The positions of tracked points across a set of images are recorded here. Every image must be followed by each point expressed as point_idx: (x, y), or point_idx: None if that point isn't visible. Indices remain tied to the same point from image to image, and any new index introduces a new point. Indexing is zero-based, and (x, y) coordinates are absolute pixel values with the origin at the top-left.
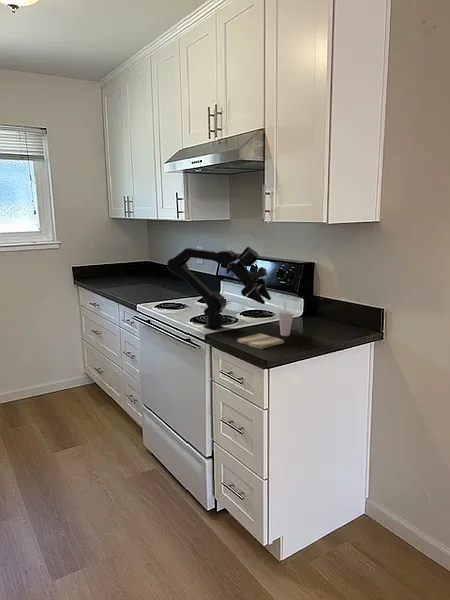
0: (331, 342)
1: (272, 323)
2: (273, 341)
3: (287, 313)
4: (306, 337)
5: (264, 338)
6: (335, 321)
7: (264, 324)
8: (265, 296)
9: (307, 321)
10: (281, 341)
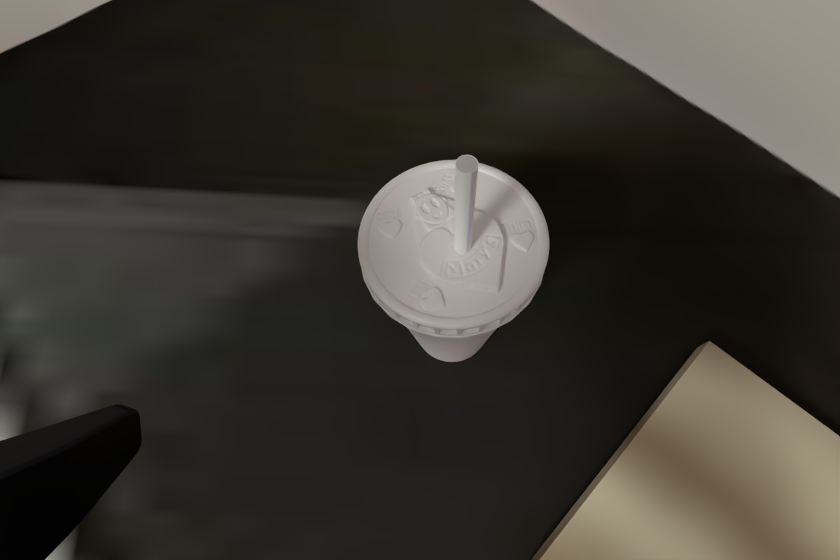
0: (592, 67)
1: None
2: (795, 435)
3: (498, 221)
4: None
5: (720, 524)
6: (101, 15)
7: None
8: (14, 557)
9: (63, 155)
10: (733, 363)
